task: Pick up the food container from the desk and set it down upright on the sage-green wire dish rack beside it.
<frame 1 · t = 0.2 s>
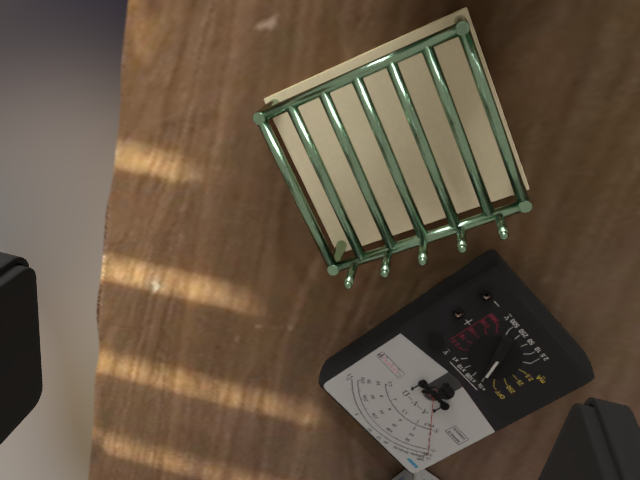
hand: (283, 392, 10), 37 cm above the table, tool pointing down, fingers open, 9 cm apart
dish rack: (395, 141, 46), on the table
multimeter: (448, 355, 53), on the table
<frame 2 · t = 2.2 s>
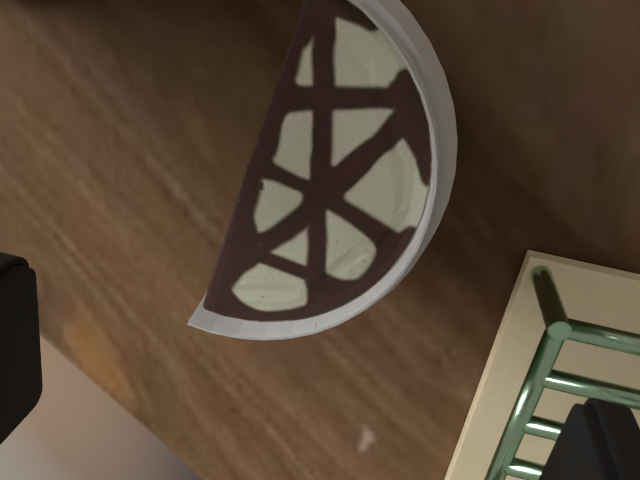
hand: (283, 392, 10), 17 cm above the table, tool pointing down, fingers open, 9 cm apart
dish rack: (617, 419, 30), on the table
food container: (371, 125, 26), on the table
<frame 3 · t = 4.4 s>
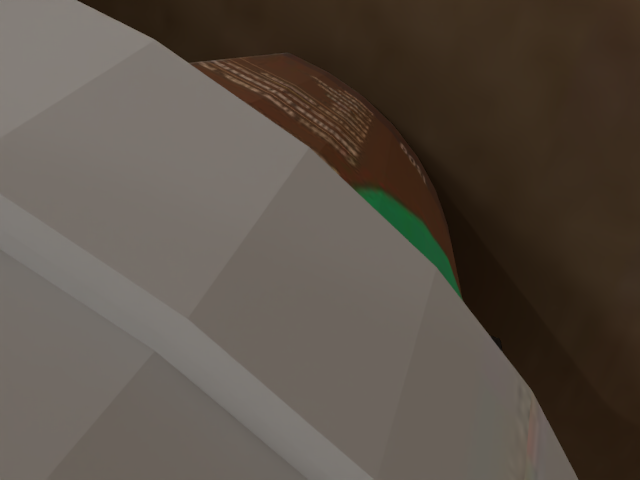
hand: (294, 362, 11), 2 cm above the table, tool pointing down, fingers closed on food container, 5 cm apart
food container: (353, 309, 13), on the table, touching gripper
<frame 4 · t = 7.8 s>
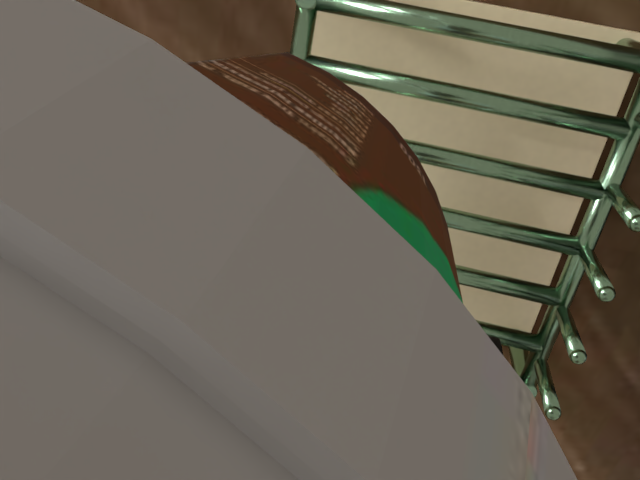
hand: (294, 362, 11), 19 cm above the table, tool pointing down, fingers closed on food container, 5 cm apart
dish rack: (430, 174, 29), on the table
food container: (353, 310, 13), point 17 cm above the table, touching gripper
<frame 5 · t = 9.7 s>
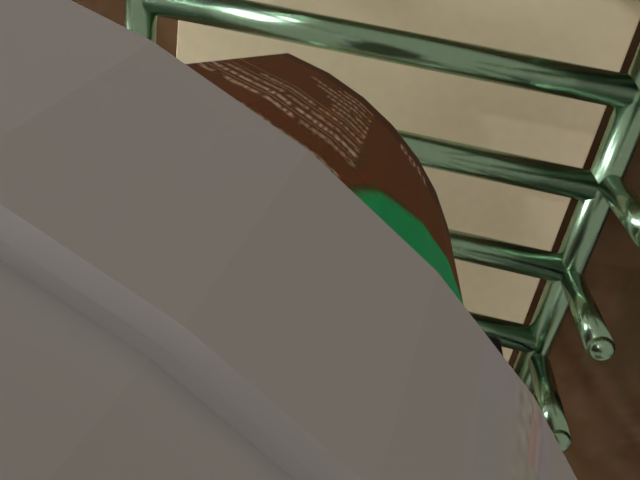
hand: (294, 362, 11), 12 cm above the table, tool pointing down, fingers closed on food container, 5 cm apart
dish rack: (364, 166, 21), on the table
food container: (353, 311, 13), point 9 cm above the table, touching gripper
when the fingers open (8 cm above the table, at t = 11.1 s): food container stays where it is, resting on dish rack.
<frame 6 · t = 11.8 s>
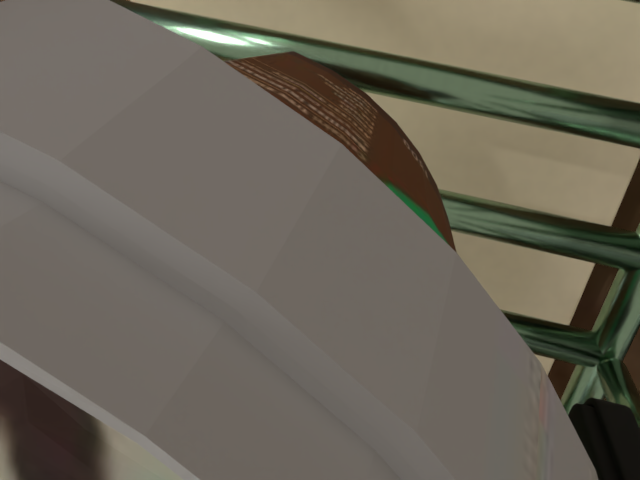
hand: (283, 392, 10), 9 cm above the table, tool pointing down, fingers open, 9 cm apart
dish rack: (354, 206, 18), on the table
food container: (356, 301, 13), point 5 cm above the table, touching dish rack
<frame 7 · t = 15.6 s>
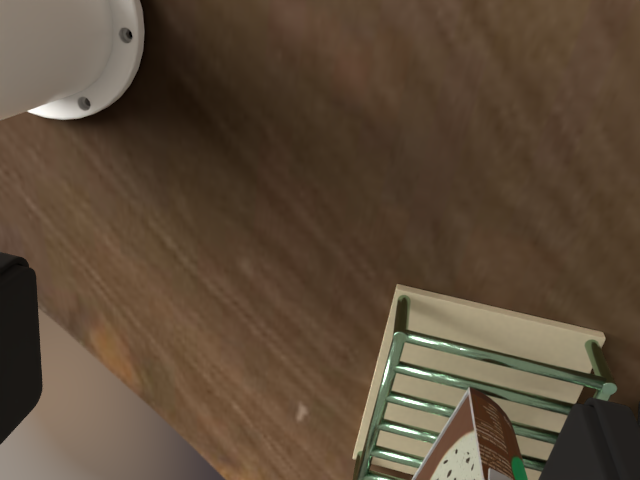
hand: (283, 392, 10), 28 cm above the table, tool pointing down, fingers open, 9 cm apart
dish rack: (466, 397, 44), on the table
food container: (480, 453, 39), point 5 cm above the table, touching dish rack
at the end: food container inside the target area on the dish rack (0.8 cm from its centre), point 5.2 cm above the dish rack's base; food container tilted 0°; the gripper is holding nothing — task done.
